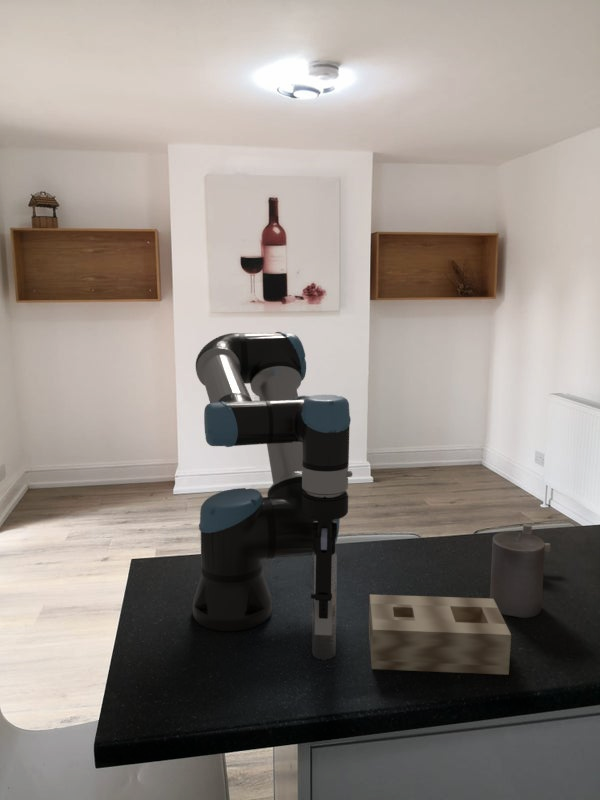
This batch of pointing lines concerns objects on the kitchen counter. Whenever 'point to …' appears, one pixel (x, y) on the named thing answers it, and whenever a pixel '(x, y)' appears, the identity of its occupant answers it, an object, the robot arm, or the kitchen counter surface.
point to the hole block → (438, 634)
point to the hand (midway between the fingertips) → (324, 617)
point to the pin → (327, 643)
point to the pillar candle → (517, 573)
